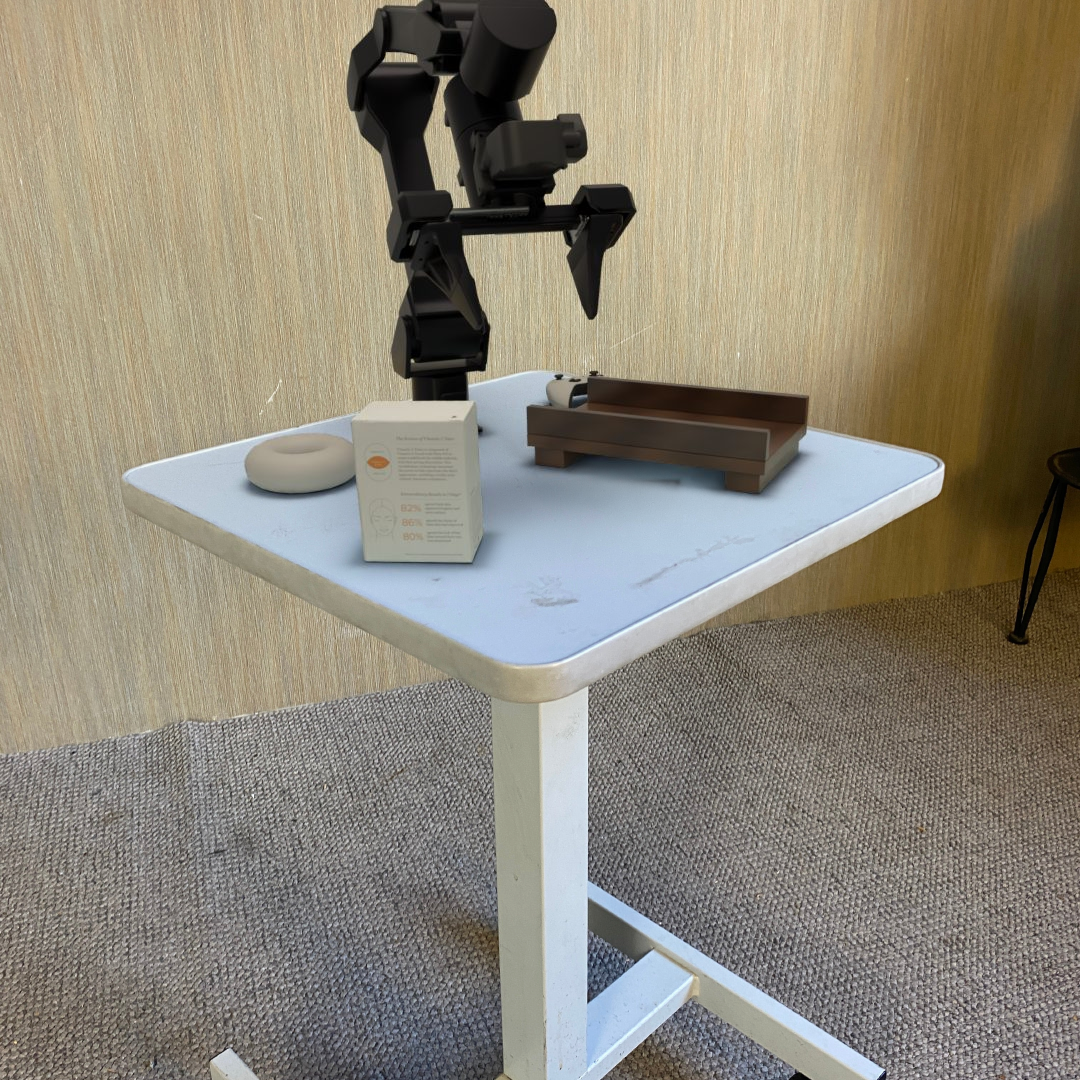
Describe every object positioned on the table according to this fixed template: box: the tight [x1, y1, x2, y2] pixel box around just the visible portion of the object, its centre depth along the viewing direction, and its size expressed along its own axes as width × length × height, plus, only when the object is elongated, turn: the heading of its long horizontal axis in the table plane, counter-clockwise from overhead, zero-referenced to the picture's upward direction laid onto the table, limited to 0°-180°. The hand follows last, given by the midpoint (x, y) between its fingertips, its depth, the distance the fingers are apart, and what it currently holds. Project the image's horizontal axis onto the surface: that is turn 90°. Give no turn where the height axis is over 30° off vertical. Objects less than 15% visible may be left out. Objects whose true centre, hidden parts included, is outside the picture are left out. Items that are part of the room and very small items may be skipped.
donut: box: [243, 432, 356, 494], centre depth 92 cm, size 10×4×10 cm
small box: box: [350, 400, 484, 563], centre depth 75 cm, size 8×6×10 cm
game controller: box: [545, 370, 606, 409], centre depth 117 cm, size 10×5×6 cm
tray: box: [525, 376, 810, 495], centre depth 96 cm, size 22×14×6 cm, turn 63°
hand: (537, 322), depth 78 cm, fingers open, 9 cm apart
